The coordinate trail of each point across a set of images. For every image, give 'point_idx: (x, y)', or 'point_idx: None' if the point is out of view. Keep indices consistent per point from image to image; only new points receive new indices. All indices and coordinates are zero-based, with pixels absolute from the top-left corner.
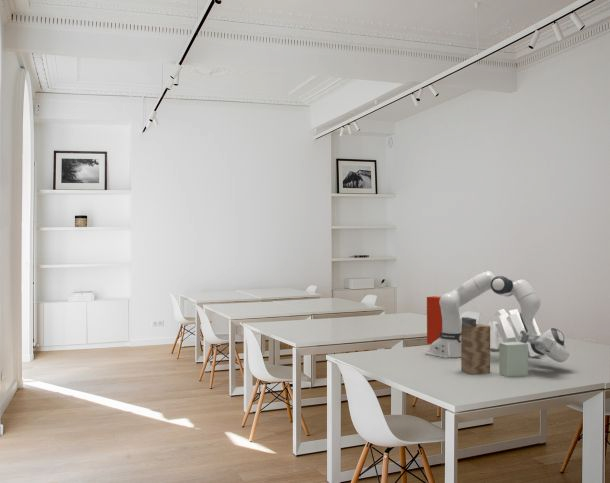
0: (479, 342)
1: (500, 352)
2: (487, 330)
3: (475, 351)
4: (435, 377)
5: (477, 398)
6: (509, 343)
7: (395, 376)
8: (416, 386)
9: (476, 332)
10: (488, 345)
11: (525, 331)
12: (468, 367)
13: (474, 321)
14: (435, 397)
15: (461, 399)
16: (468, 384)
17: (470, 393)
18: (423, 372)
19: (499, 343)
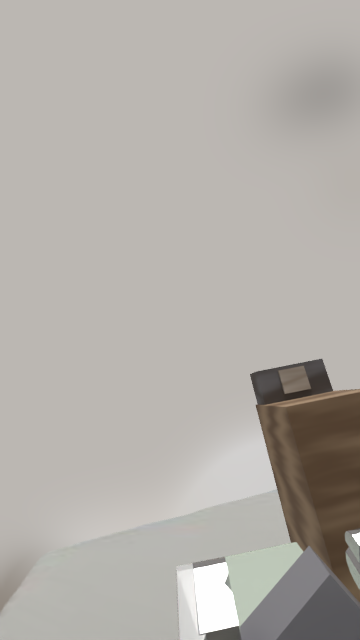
0: (288, 487)
1: None
2: (287, 430)
3: (294, 528)
4: (260, 547)
5: (39, 590)
6: (269, 589)
7: (271, 501)
8: (185, 521)
9: (269, 431)
10: (317, 531)
11: (319, 566)
12: None
13: (256, 381)
14: (104, 537)
15: (61, 565)
16: (160, 600)
17: (81, 586)
18: None
19: (294, 547)
